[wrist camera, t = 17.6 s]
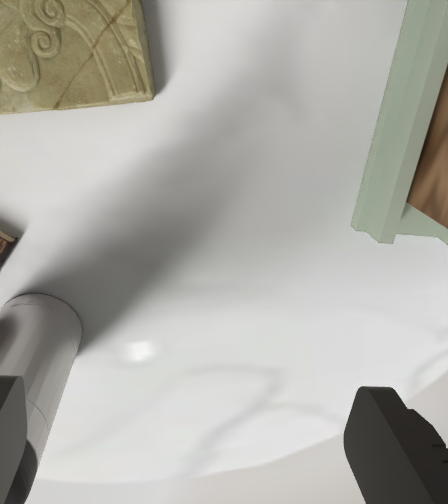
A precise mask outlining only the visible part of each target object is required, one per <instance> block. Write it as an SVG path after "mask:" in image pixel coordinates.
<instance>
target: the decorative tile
mask: <svg viewBox="0 0 448 504" xmlns="http://www.w3.org/2000/svg"><path fill="white" fill-rule="evenodd" d="M155 93H156V92H155V84H154V78H153V70H152V64H151V60H150V53H149V45H148V37H147V31H146V25H145V19H144V13H143V8H142V3H141V0H0V115H4V114H15V113H27V112H37V111H49V110H67V109H77V108H88V107H98V106H107V105H117V104H126V103H134V102H145V101H150V100H153V99H154V97H155Z"/></svg>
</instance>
